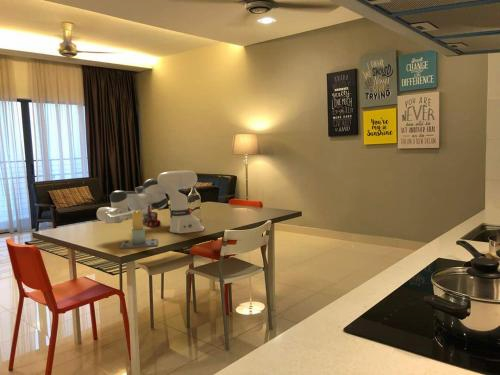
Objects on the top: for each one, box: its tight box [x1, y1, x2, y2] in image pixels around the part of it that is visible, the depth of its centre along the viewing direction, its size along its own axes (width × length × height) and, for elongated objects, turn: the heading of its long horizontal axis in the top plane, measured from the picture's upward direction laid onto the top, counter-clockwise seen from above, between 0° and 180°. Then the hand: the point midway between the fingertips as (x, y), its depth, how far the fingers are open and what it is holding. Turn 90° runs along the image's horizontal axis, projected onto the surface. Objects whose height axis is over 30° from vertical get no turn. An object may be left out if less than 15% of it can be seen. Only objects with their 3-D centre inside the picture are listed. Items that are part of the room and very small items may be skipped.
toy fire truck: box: [145, 211, 162, 228], centre depth 283 cm, size 7×12×10 cm, turn 40°
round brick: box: [131, 210, 144, 230], centre depth 230 cm, size 6×6×11 cm
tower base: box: [119, 227, 159, 250], centre depth 231 cm, size 20×14×9 cm
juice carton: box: [134, 185, 153, 223], centre depth 303 cm, size 9×10×27 cm
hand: (133, 217), depth 232 cm, fingers open, 8 cm apart
